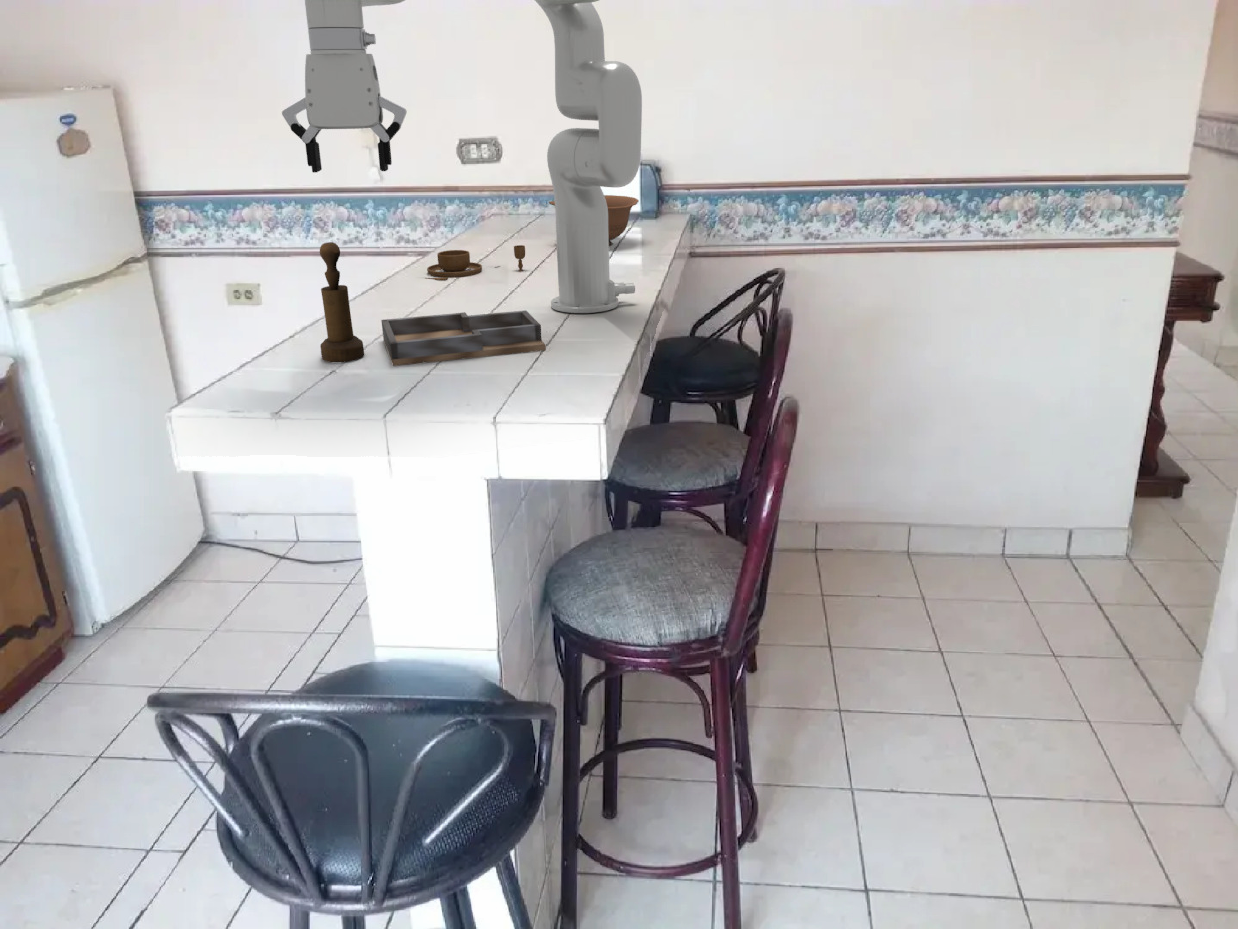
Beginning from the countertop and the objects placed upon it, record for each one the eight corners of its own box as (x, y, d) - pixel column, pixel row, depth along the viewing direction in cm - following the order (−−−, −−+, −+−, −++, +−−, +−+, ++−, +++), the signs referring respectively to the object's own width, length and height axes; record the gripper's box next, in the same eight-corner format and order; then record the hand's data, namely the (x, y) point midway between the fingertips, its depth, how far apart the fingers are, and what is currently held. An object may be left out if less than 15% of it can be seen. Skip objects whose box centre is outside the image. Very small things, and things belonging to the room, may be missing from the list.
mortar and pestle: (313, 361, 159) (297, 245, 152) (336, 350, 164) (322, 238, 158) (350, 364, 157) (335, 246, 150) (372, 353, 162) (359, 239, 156)
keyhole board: (524, 326, 176) (522, 307, 175) (545, 350, 162) (544, 328, 160) (383, 340, 170) (381, 319, 168) (393, 365, 155) (390, 343, 154)
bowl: (538, 242, 256) (536, 197, 252) (618, 234, 264) (617, 191, 260) (568, 256, 237) (566, 208, 233) (653, 247, 245) (653, 201, 241)
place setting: (457, 265, 233) (455, 239, 230) (531, 272, 224) (529, 245, 222) (408, 280, 218) (406, 252, 216) (485, 287, 210) (483, 259, 207)
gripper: (404, 43, 145) (414, 167, 151) (281, 44, 144) (296, 169, 150) (396, 41, 138) (407, 172, 144) (267, 43, 137) (283, 174, 143)
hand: (350, 170), depth 147 cm, fingers open, 9 cm apart
